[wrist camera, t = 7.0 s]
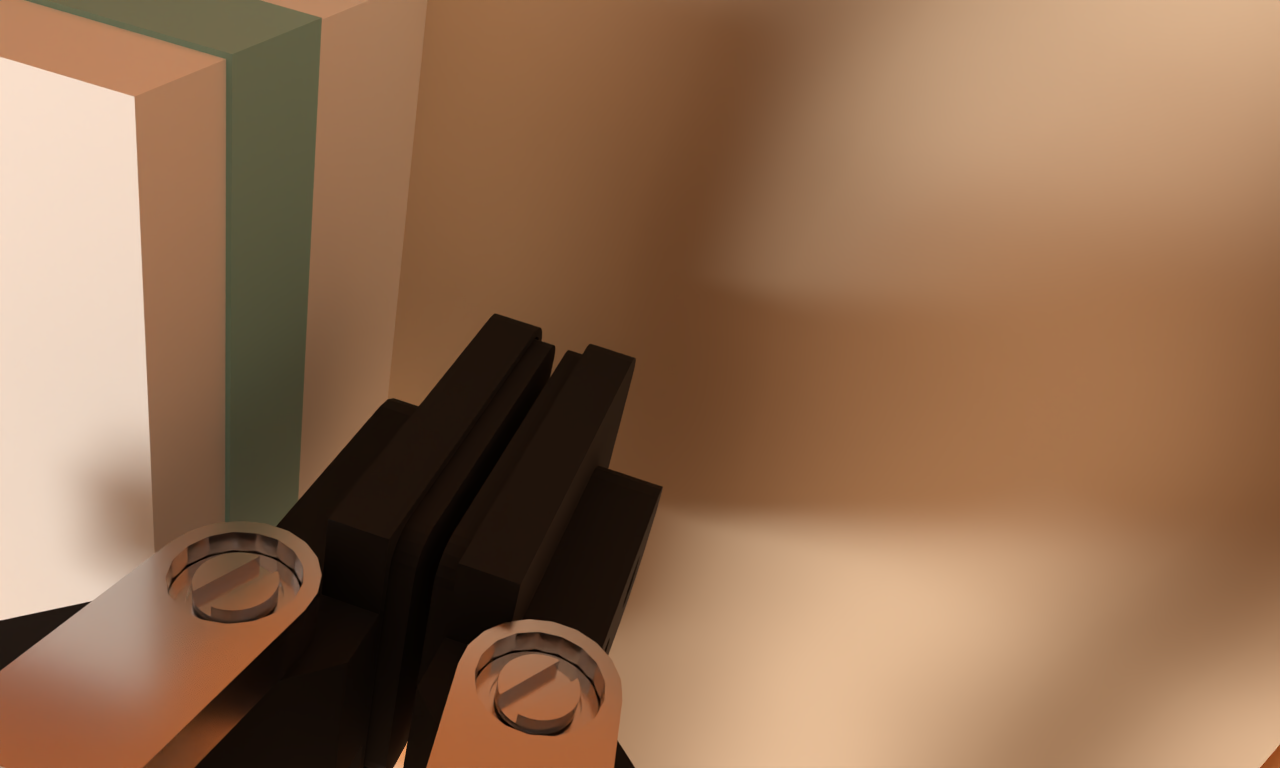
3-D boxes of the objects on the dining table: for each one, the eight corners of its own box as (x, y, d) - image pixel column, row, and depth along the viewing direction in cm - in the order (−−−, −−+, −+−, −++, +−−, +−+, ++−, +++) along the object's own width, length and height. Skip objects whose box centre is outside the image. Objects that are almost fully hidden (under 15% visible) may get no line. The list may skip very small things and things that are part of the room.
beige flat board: (1727, -48, 11) (1920, -4, 9) (1065, 837, 19) (1082, 973, 17) (-939, -795, 13) (-1295, -902, 11) (-520, 271, 21) (-681, 327, 19)
